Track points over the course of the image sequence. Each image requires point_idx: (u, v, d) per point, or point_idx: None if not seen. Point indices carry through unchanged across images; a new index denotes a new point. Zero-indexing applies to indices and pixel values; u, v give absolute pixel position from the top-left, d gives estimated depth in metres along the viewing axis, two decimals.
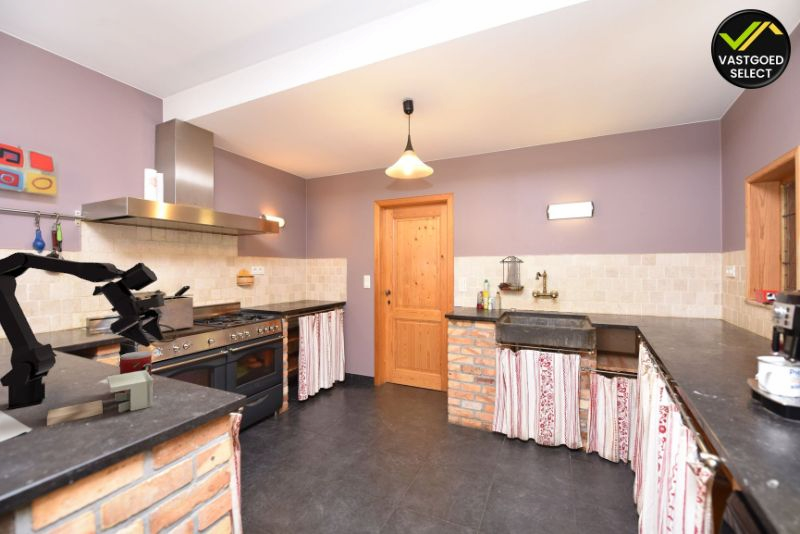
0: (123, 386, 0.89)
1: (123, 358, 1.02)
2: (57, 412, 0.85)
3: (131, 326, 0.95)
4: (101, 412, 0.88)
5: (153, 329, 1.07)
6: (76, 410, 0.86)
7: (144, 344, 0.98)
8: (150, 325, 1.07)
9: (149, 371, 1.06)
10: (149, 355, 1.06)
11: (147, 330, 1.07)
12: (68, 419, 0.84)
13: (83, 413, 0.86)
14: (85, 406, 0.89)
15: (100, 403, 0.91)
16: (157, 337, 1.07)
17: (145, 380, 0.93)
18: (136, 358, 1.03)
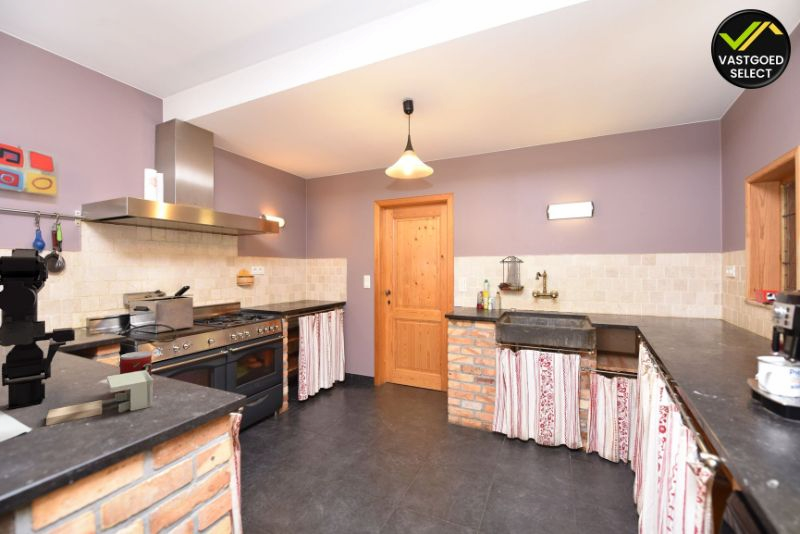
0: (123, 386, 0.89)
1: (123, 358, 1.02)
2: (57, 412, 0.85)
3: None
4: (100, 412, 0.88)
5: (47, 355, 0.84)
6: (75, 410, 0.86)
7: None
8: (48, 348, 0.84)
9: (149, 371, 1.06)
10: (149, 355, 1.06)
11: None
12: (67, 419, 0.84)
13: (82, 414, 0.86)
14: (85, 406, 0.89)
15: (100, 403, 0.90)
16: (45, 366, 0.84)
17: (145, 380, 0.93)
18: (136, 358, 1.03)
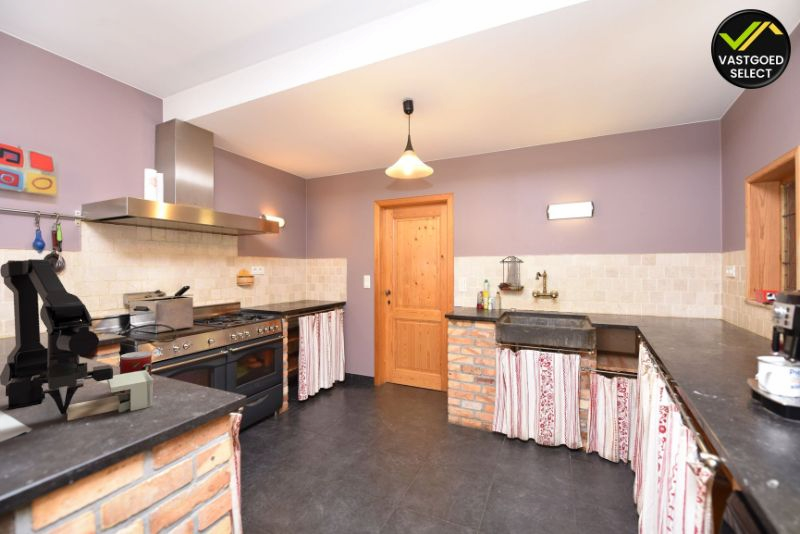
0: (123, 386, 0.89)
1: (123, 358, 1.02)
2: (76, 407, 0.88)
3: (42, 390, 0.83)
4: (118, 407, 0.91)
5: (65, 396, 0.86)
6: (94, 405, 0.89)
7: None
8: None
9: (149, 371, 1.06)
10: (149, 355, 1.06)
11: (66, 392, 0.87)
12: (87, 413, 0.87)
13: (101, 408, 0.89)
14: (103, 401, 0.92)
15: (117, 398, 0.93)
16: None
17: (145, 380, 0.93)
18: (136, 358, 1.03)
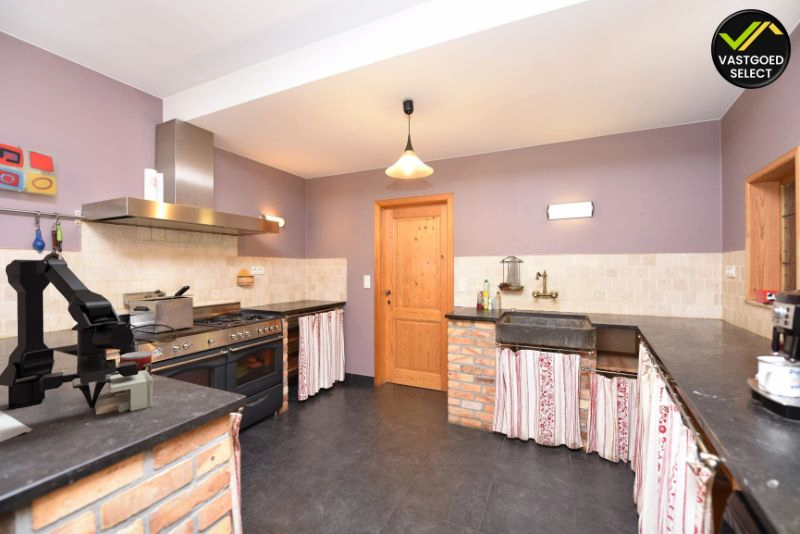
0: (123, 386, 0.89)
1: (123, 358, 1.02)
2: (104, 402, 0.91)
3: (73, 385, 0.86)
4: None
5: (93, 391, 0.90)
6: (121, 401, 0.92)
7: None
8: (94, 385, 0.90)
9: (149, 371, 1.06)
10: (149, 355, 1.06)
11: (94, 387, 0.91)
12: (115, 409, 0.90)
13: None
14: (128, 397, 0.95)
15: None
16: None
17: (145, 380, 0.93)
18: (136, 358, 1.03)
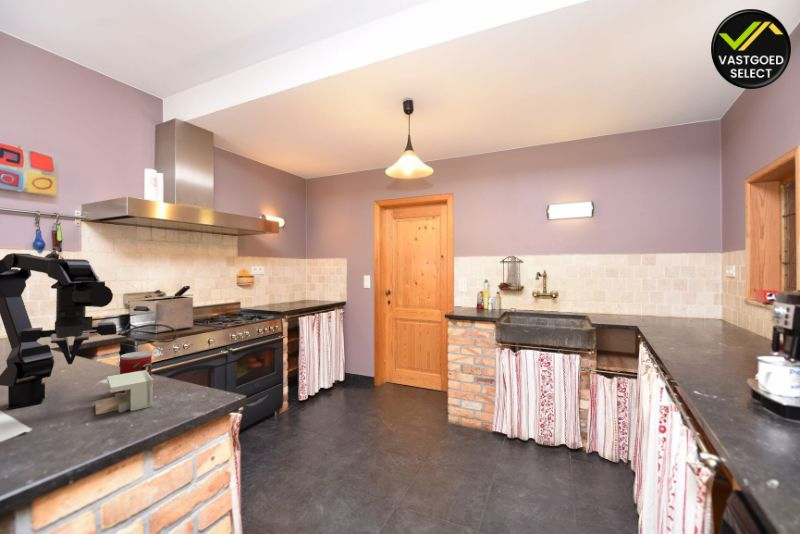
0: (123, 386, 0.89)
1: (123, 358, 1.02)
2: (104, 402, 0.91)
3: (51, 340, 0.89)
4: None
5: (72, 348, 0.93)
6: (120, 401, 0.92)
7: None
8: None
9: (149, 371, 1.06)
10: (149, 355, 1.06)
11: None
12: (114, 409, 0.90)
13: None
14: (128, 397, 0.95)
15: None
16: None
17: (145, 380, 0.93)
18: (136, 358, 1.03)
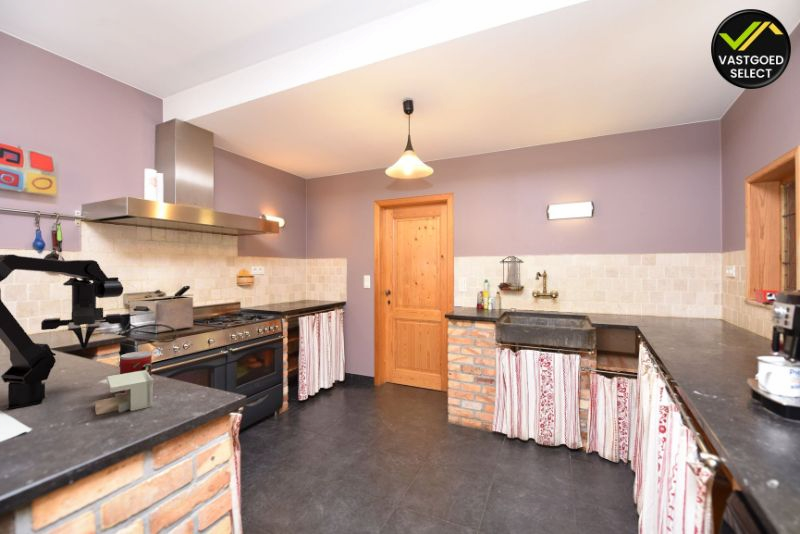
0: (123, 386, 0.89)
1: (123, 358, 1.02)
2: (104, 402, 0.91)
3: (68, 328, 1.06)
4: None
5: (85, 335, 1.10)
6: (121, 401, 0.92)
7: (81, 345, 1.09)
8: (86, 330, 1.10)
9: (149, 371, 1.06)
10: (149, 355, 1.06)
11: None
12: (115, 409, 0.90)
13: None
14: (128, 397, 0.95)
15: None
16: None
17: (145, 380, 0.93)
18: (136, 358, 1.03)
